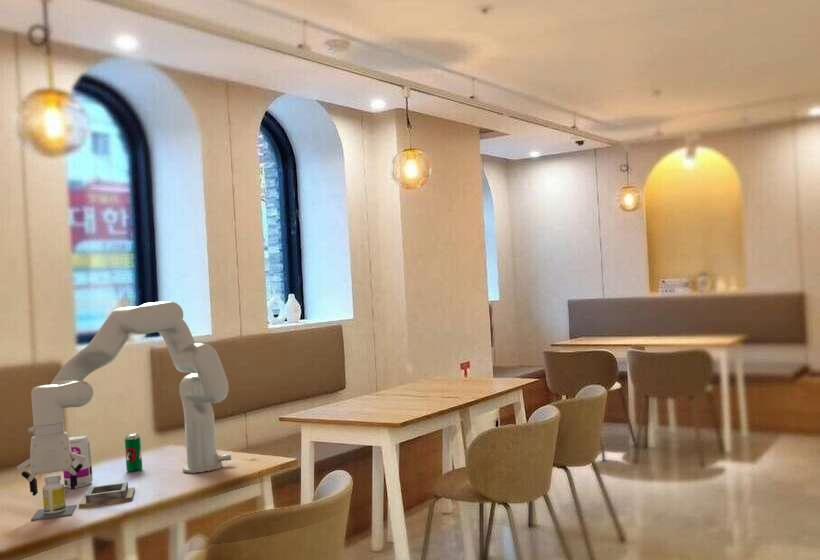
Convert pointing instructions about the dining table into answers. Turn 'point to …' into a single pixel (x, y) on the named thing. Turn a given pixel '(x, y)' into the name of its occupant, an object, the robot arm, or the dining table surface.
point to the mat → (67, 512)
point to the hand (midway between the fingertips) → (54, 491)
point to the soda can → (133, 453)
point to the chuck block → (107, 494)
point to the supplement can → (82, 448)
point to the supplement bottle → (53, 494)
